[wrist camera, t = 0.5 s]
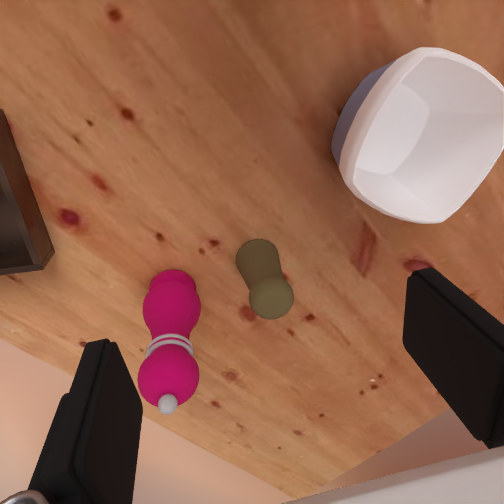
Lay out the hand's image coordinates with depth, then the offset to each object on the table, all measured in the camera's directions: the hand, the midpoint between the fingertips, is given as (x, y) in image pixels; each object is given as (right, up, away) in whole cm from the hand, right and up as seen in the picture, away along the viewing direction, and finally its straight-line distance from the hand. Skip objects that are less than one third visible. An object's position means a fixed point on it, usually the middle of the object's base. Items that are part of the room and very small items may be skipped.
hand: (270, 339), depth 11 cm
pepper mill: (-12, -2, +39) cm, 40 cm away
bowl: (+15, +18, +33) cm, 40 cm away
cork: (0, +2, +39) cm, 39 cm away
